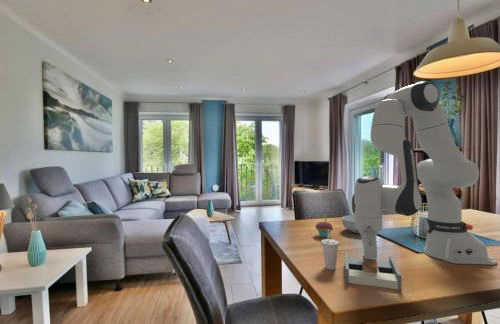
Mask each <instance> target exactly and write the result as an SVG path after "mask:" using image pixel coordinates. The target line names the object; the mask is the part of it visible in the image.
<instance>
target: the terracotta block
mask: <svg viewBox="0 0 500 324" xmlns="http://www.w3.org/2000/svg"><path fill="white" fill-rule="evenodd" d="M362 259H363V269H364V272H370V273H377V260H378V259H376V260H372V259H366V258H365V257H364V255H362Z"/></svg>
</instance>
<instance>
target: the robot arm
mask: <svg viewBox="0 0 500 324" xmlns="http://www.w3.org/2000/svg"><path fill="white" fill-rule="evenodd" d="M409 116H411V118H412V122H413V127H414V132H415V134H416V137H417V141H418V145H419V148H420V149H421V150H422V151H423V152H424V153H426V155H427V156H428V157H429V158H427V159H425V160H421V161H419V162H418V163H417V161H416V155H415V148H414V146H413V144H412V141H410V140H408V139H407V137H406V136H405V117H409ZM370 141H371V143H372V145H373V146H374V148H376V149H378V150H379V151H381V152H383V153H386V154H389V155H392V156H394V157H395V158H396V159H397V160H398V161H399V166H400V167H399V168H400V177H401V184H400V185H393V184H383V183H381V180H380V178H379V177H377V176H375V175H374V176H373V175H366V176H360V177H359V178H357V179H356V181H355V185H354V203H355V206H356V209H355V213H353V216H354V217H355V228H356V229H358V231H359V233H358V234H360V239H361V244H362V250H363V251H362V252H363V256H364V257H365V258H366V259H372V260H378V248H377V247H378V245H377V235H379V232H380V231H382V230H383V213H382V212H388V213H393V214H398V215H402V216H406V217H411V216H413V215H415V214H417V213H418V212H419V211H421V208H422V205H423V204H422V201H423V200H422V194H421V190H420V187H419V181H420V183H421V186H422V188H423V190H424V193H425V195H426V196H425V197H426V202H427V203H426V204H427V218H426V221H425V222H426V223H425V224H426V225H425V228H426V232H427V233H426V240H425V241H426V242H425V245H424V248H423V253H424V254H426V255H428V256H430V257H432V258H435V259H439V260H442V261H445V262H447V263H450V264H458V265H459V264H460V265H461V264H463V265H493V266H495V265H497V259H496V258H495V257H494V256H493V255H491V254H489V253H488V248H487V245H486V244H485V243H484V242H483V241H482V240H480V239H479V238H477V237H476V236H475V235H474V234H472V233H470V232H469V231H472V230H473V229H474V227H473V225H472V224H469V223H466V222H465V221H463V220H462V217H463V216H462V214H463V213H462V202H461V199H459V197H458V196H457V195H456V194H455V192H454V190H453V188H454V189H455V188H457V189H458V188H468V187H469V188H470V187H471V186H473V185H475V184H476V183H477V182H478V181H479V177H480V170H479V167H478V165H476V163H474V162H472V161H471V160H470V159H468V158H467V157H466V155H464V154H463V152H462V151H461V150H460V149H459V147H458V145H457V144H456V142H455V141H454V138H453V136H452V132H451V130H450V126H449V122H448V118H447V117H446V113H445V110H444V109H443V107H442V105H441V103H440V91H439V87H438V86H437V85H436V84H434V83H433V82H432V81H429V80H426V81H425V80H424V81H423V80H422V81H419V82H418V81H417V82H416V83H414V84H409V85H407V86H403V87H401V88H399V89H398V90H396V91H393V92H392V93H389V94H386V95H385V96H383V98H382V99H380V101H378V103H377V104H376V106H375V108H374V112H373V115H372V119H371V127H370ZM468 230H469V231H468Z"/></svg>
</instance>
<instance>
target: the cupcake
mask: <svg viewBox="0 0 500 324" xmlns="http://www.w3.org/2000/svg"><path fill="white" fill-rule="evenodd" d="M327 218H328V217H327V214H325V216H324V221H320V222H317V223H316V225H315V230H317V232H318V234H319V236H320V237H321V238H328V230H329V237H330V236H331V232H332V231H333V229H334V227H333V225H332V223H329V222H327Z"/></svg>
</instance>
